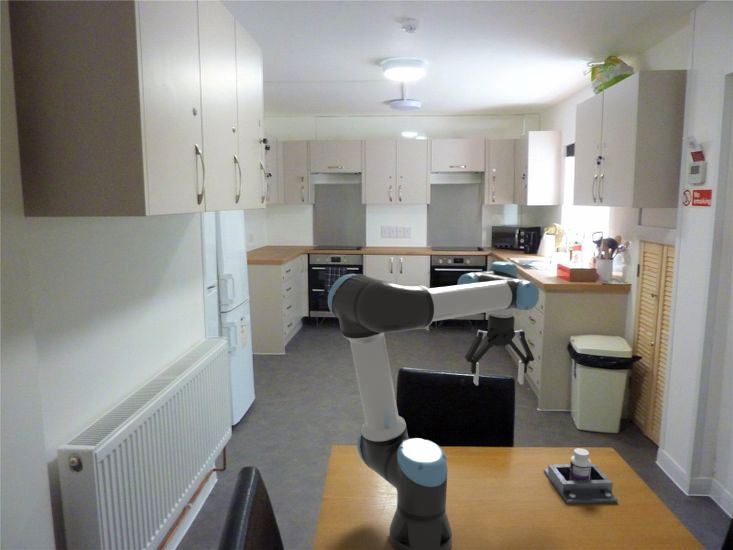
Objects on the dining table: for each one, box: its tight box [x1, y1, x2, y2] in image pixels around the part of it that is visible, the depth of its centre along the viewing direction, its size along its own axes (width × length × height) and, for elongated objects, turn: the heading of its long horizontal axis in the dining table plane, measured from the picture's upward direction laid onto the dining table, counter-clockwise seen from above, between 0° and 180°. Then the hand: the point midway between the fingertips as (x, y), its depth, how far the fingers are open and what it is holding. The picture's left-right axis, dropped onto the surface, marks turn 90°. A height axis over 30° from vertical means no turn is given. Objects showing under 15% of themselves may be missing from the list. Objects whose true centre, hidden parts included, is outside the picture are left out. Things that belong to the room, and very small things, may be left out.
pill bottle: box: [569, 447, 592, 481], centre depth 143 cm, size 5×5×10 cm
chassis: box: [543, 463, 619, 505], centre depth 144 cm, size 16×14×4 cm
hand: (498, 383), depth 150 cm, fingers open, 13 cm apart
